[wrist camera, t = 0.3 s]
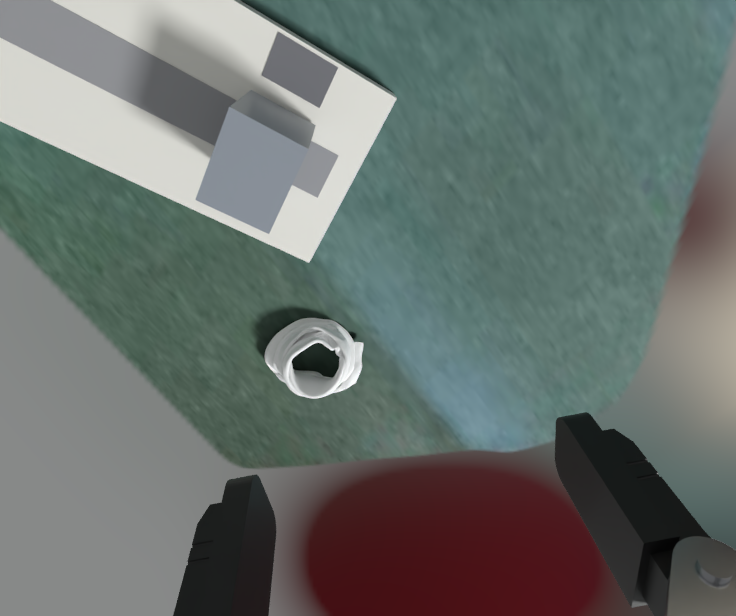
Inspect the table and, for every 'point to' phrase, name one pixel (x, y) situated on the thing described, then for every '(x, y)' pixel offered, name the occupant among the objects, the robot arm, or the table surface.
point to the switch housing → (184, 97)
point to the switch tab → (255, 160)
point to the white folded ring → (303, 337)
